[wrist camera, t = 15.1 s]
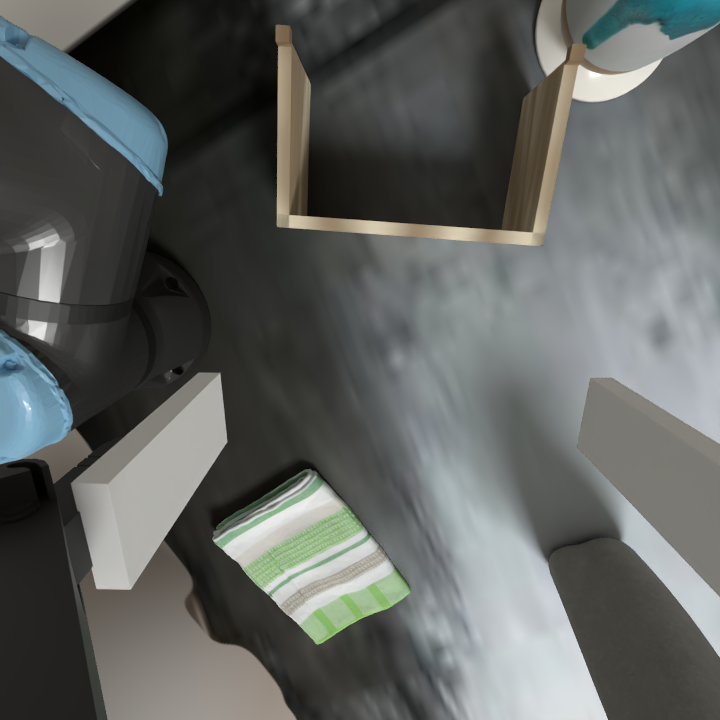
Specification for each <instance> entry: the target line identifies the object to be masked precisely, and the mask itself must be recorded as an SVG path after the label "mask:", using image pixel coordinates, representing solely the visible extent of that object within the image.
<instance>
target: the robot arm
mask: <svg viewBox="0 0 720 720" xmlns="http://www.w3.org/2000/svg"><path fill="white" fill-rule="evenodd" d="M167 148H168V142H167V136H166V133H165V130H164V128H163V127H162V124H161V123H160V122H159V120H158V119H157V118H156V117H155V116H154V115H153V114H152V113H151V112H150V111H149V110H148V109H147V108H146V107H145V106H144V105H142V104H141V103H140V102H138V101H137V100H136V99H135V98H133V97H132V96H130V95H129V94H127V93H126V92H125V91H123V90H122V89H120V88H119V87H117V86H116V85H114V84H113V83H111V82H110V81H109V80H107V79H105V78H104V77H102V76H101V75H99V74H98V73H96V72H95V71H93V70H92V69H90V68H88V67H87V66H85V65H84V64H82V63H81V62H79V61H77V60H76V59H74V58H72V57H71V56H69V55H68V54H66V53H64V52H63V51H61V50H59V49H58V48H56V47H54V46H52V45H51V44H49V43H47V42H46V41H44V40H42V39H40V38H38V37H36V36H32V35H29V34H28V33H27V32H26V31H25V30H23V29H22V28H20V27H18V26H16V25H14V24H12V23H11V22H9V21H8V20H6V19H4V18H3V17H2V16H0V720H107V715H106V710H105V705H104V700H103V695H102V690H101V685H100V680H99V675H98V671H97V665H96V661H95V656H94V650H93V645H92V641H91V636H90V631H89V626H88V621H87V616H86V611H85V606H84V601H83V597H82V592H81V588H80V584H79V583H80V582H81V580H82V579H83V578H84V577H85V575H86V574H87V573H88V572H89V570H90V569H91V568H92V572H93V575H94V579H95V584H96V588H97V589H129V590H130V589H131V588H132V587H133V585H134V584H135V582H136V581H137V579H138V578H139V576H140V574H141V573H142V571H143V570H144V568H145V567H146V565H147V564H148V562H149V561H150V559H151V557H152V556H153V554H154V553H155V551H156V550H157V548H158V547H159V545H160V544H161V542H162V541H163V539H164V538H165V536H166V535H167V533H168V532H169V530H170V529H171V527H172V525H173V524H174V522H175V521H176V519H177V518H178V516H179V515H180V513H181V512H182V510H183V509H184V507H185V506H186V504H187V502H188V501H189V499H190V498H191V496H192V495H193V493H194V492H195V490H196V489H197V487H198V486H199V484H200V483H201V481H202V480H203V478H204V476H205V475H206V473H207V472H208V470H209V469H210V467H211V466H212V464H213V463H214V461H215V460H216V458H217V457H218V455H219V453H220V452H221V450H222V449H223V447H224V446H225V444H226V443H227V435H226V425H225V415H224V406H223V396H222V387H221V377H220V373H198V374H197V375H196V376H194V377H193V378H192V379H191V380H190V381H189V382H187V383H186V384H185V385H184V386H183V387H182V388H180V389H179V390H178V391H177V392H176V393H175V394H174V395H172V396H171V397H170V398H169V399H168V400H167V401H165V402H164V403H163V404H162V405H161V406H160V407H158V408H157V409H156V410H155V411H154V412H153V413H152V414H150V415H149V416H148V417H147V418H146V419H145V420H143V421H142V422H141V423H140V424H139V425H138V426H136V427H135V428H134V429H133V430H132V431H131V432H130V433H128V434H127V435H126V436H119V437H117V438H115V439H113V440H111V441H109V442H107V443H105V444H103V445H101V446H100V447H98V448H97V449H96V450H95V451H94V452H92V453H91V454H90V455H89V456H88V458H85V459H84V460H83V461H82V462H80V463H79V464H78V465H77V467H74V468H73V469H72V470H70V471H69V472H68V473H67V474H66V475H64V476H63V477H62V478H61V479H60V480H58V481H57V482H56V483H55V484H53V481H52V477H51V473H50V470H49V466H48V464H47V463H46V462H45V461H43V460H39V459H21V458H24V457H27V456H28V455H30V454H32V453H34V452H36V451H38V450H39V449H41V448H43V447H45V446H47V445H49V444H54V443H57V442H58V441H60V440H62V439H63V438H64V437H65V436H66V435H67V434H68V433H69V432H70V431H72V430H73V429H74V428H76V427H77V426H79V425H80V424H82V423H83V422H85V421H86V420H88V419H89V418H91V417H92V416H94V415H95V414H97V413H98V412H100V411H102V410H103V409H105V408H106V407H108V406H109V405H111V404H112V403H114V402H115V401H117V400H118V399H120V398H121V397H123V396H124V395H126V394H127V393H129V392H130V391H133V390H141V389H150V388H157V387H161V386H165V385H168V384H170V383H172V382H175V381H176V380H178V379H180V378H181V377H183V376H184V375H185V374H187V373H188V372H189V371H191V370H192V369H193V368H194V367H195V366H196V365H197V364H198V363H199V362H200V360H201V359H202V357H203V356H204V354H205V352H206V349H207V347H208V344H209V340H210V333H211V321H210V314H209V310H208V306H207V303H206V301H205V298H204V296H203V294H202V292H201V291H200V289H199V287H198V286H197V284H196V283H195V282H194V280H193V279H192V278H191V277H190V276H189V275H188V274H187V273H186V272H185V271H184V270H183V269H182V268H181V267H179V266H178V265H177V264H175V263H174V262H172V261H170V260H169V259H167V258H165V257H163V256H160V255H158V254H155V253H152V252H148V251H146V247H147V243H148V239H149V234H150V230H151V226H152V222H153V218H154V213H155V209H156V205H157V201H158V197H159V196H162V193H163V187H162V184H161V181H162V176H163V171H164V165H165V160H166V155H167ZM577 448H578V449H579V450H580V451H581V452H582V453H583V454H584V455H585V456H586V457H587V458H588V459H589V460H590V461H591V462H592V463H593V464H594V465H595V466H596V467H597V469H598V470H599V471H600V472H601V473H602V474H603V475H604V476H605V477H606V478H607V479H608V480H609V481H610V482H611V483H612V484H613V485H614V486H615V487H616V488H617V489H618V491H619V492H620V493H621V494H622V495H623V496H624V497H625V498H626V499H627V500H628V501H629V502H630V503H631V504H632V505H633V506H634V507H635V508H636V509H637V510H638V512H639V513H640V514H641V515H642V516H643V517H644V518H645V519H646V520H647V521H648V522H649V523H650V524H651V525H652V526H653V527H654V528H655V529H656V530H657V531H658V532H659V534H660V535H661V536H662V537H663V538H664V539H665V540H666V541H667V542H668V543H669V544H670V545H671V546H672V547H673V548H674V549H675V550H676V551H677V552H678V553H679V555H680V556H681V557H682V558H683V559H684V560H685V561H686V562H687V563H688V564H689V565H690V566H691V567H692V568H693V569H694V570H695V571H696V572H697V573H698V574H699V575H700V577H701V578H702V579H703V580H704V581H705V582H706V583H707V584H708V585H709V586H710V587H711V588H712V589H713V590H714V591H715V592H716V593H717V594H718V595H719V596H720V444H718V443H717V442H715V441H714V440H712V439H710V438H709V437H707V436H705V435H704V434H702V433H701V432H699V431H697V430H696V429H694V428H692V427H691V426H689V425H688V424H686V423H684V422H683V421H681V420H680V419H678V418H676V417H675V416H673V415H671V414H670V413H668V412H667V411H665V410H663V409H662V408H660V407H658V406H657V405H655V404H654V403H652V402H650V401H649V400H647V399H645V398H644V397H642V396H641V395H639V394H637V393H636V392H634V391H632V390H631V389H629V388H628V387H626V386H624V385H623V384H621V383H619V382H618V381H616V380H615V379H613V378H590V382H589V387H588V392H587V398H586V403H585V408H584V413H583V418H582V423H581V429H580V434H579V439H578V444H577ZM19 459H21V460H19ZM2 463H3V464H2Z"/></svg>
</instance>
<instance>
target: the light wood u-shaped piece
mask: <svg viewBox="0 0 720 720" xmlns="http://www.w3.org/2000/svg"><path fill="white" fill-rule="evenodd" d="M276 43H277V45H278V140H277V227H286V228H300V229H313V230H327V231H341V232H355V233H368V234H382V235H396V236H410V237H423V238H437V239H451V240H465V241H478V242H492V243H506V244H520V245H533V246H543V242H544V237H545V232H546V227H547V222H548V217H549V212H550V207H551V201H552V196H553V191H554V186H555V181H556V176H557V171H558V166H559V161H560V156H561V151H562V146H563V141H564V135H565V130H566V125H567V120H568V115H569V110H570V105H571V100H572V95H573V90H574V85H575V80H576V74H577V69H578V66H579V65H580V64H581V63H582V62H583V61H584V56H585V51H586V46H587V45H584V44H572V45H571V46H570V47H569V48H568V49H567V54H566V59H565V61H564V62H563V63H561V64H560V65H559V66H558V67H557V68H556V69H555V70H554V71H553V72H552V73H551V74H549V75H548V76H547V77H546V78H545V79H544V80H543V81H542V82H541V83H540V84H538V85H537V86H536V87H535V88H534V89H533V90H532V91H531V92H530V93H529V94H527V95H526V96H525V97H524V98H523V103H522V109H521V115H520V121H519V127H518V133H517V139H516V145H515V151H514V157H513V163H512V169H511V175H510V181H509V187H508V193H507V199H506V205H505V211H504V217H503V223H502V229H501V230H490V229H476V228H462V227H449V226H435V225H421V224H407V223H393V222H379V221H365V220H352V219H338V218H324V217H310V216H307V198H308V162H309V127H310V92H311V84H310V82H309V79H308V77H307V75H306V73H305V71H304V68H303V66H302V64H301V62H300V59H299V57H298V55H297V53H296V51H295V48H294V46H293V44H292V30H291V28H290V26H287V25H276Z"/></svg>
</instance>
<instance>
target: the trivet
mask: <svg viewBox="0 0 720 720" xmlns="http://www.w3.org/2000/svg"><path fill="white" fill-rule="evenodd" d="M561 6H562V0H542V1H541V4H540V7H539V10H538V14H537V19H536V25H535V48H536V54H537V58H538V62H539V65H540V67H541V70H542V72H543V73H544V75H545V77H547V76H548V75H549V74H551V73H552V72H553V71H554V70H555V69H556V68H557V67H558V66H559V65H560V64H561V63H563V62H564V61H565V59H566V54H567V48H566V45H565V43H564V40H563V36H562V32H561V22H560V21H561ZM662 59H663V58H662ZM662 59H660V60H658V61H655V62H653V63H651V64H649V65H647V66H645V67H642V68H640V69H637V70H635V71H631V72H628V73H623V74H616V75H605V74H599V73H595V72H591V71H589V70H587V69H585V68H584V67H582V66H581V65H579V66H578V69H577V74H576V80H575V85H574V90H573V95H572V99H573V100H576V101H579V102H586V103H597V102H604V101H608V100H611V99H614V98H617V97H619V96H621V95H623V94H625V93H627V92H628V91H630V90H632V89H633V88H635V87H636V86H638V85H639V84H640V83H642V82H643V81H644V80H645V79H646V78H647V77H648V76H649V75H650V74H651V73H652V72H653V71H654V70H655V68H656V67H657V66H658V65H659V63H660V62H661V60H662Z"/></svg>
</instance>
